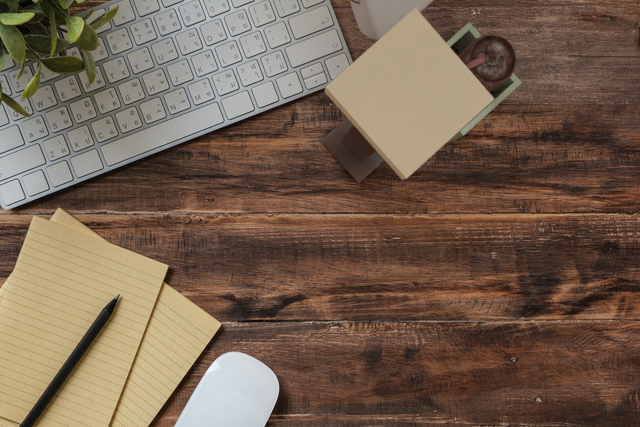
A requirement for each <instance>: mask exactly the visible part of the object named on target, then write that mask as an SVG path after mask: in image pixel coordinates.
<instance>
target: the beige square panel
mask: <svg viewBox="0 0 640 427" xmlns="http://www.w3.org/2000/svg"><path fill="white" fill-rule="evenodd" d="M446 42H447V41H445V40H444V39H443V38H442V36H441V35H440V34H439V33H438V32H437V30H436V29H435V28H434V27H433V26H432V25H431V23H430V22H429V21H428V20H427V18H425V17H424V15H423V14H422V13H421V12H419V11H418V10H417V9H416V8H414V9H413V10H412V11H411V12H410V13H409V14H407V15H406V16H405V17H404V18H403V19H402V20H401V21H399V22H398V23H397V24H396V25H395V26H394V27H393V28H392V29H390V30H389V31H388V32H387V33H386V34H385V35H384V36H382V37H381V38H380V39H379V40H378V41H377V40H376V41H375V43H374V44H372V45H371V46H370V47H368V48H367V49H366V50H365V51H364V52H363V53H362V54H361V55H360V56H358V57H357V58H356V59H355V60H354V61H353V62H352V63H351V64H350V65H348V66H347V67H346V68H345V69H344V70H342V71H341V72H340V73H339V74H338V75H337V76H336V77H334V79H332V80H331V81H330V82H328V84H327V85H326V86H325V87H324V91H323V92H324V94H326V96H327V97H328V98H329V99H330V100H331V101H332V103H334V104H335V106H336V107H337V108H338V109H339V111H341V113H342V114H343V115H344V116H345V118H346V117H347V118H348V119H349V120H350V121H351V123H352V124H353V125H354V126H355V127H356V128H357V129H358V130H359V132H360V133H361V134H362V135H363V136H364V137H365V138H366V139H367V141H368V142H369V143H370V144H371V145H372V146H373V147H374V149H375V150H376V151H377V152H378V153H379V154H380V155H381V156H382V158H383V159H384V161H385V162H386V163H387V164H388V166H389V167H390V169H392V170H393V172H395V174H396V175H397V176H398V177H399V179H401V181H402V180H406V179H408V178H410V177H411V176H412V175H413V174H414V173H415V172H416V171H418V169H419V168H421V167H422V166H423V165H424V164H425V163H426V162H427V161H428V160H429V159H431V157H432V156H434V155H435V154H436V153H437V152H438V151H440V150H441V148H442V147H444V146H445V145H446V144H447V143H449V142H448V141H449V140H450V139H451V138H452V137H453V136H454V135H456V134H457V133H458V132H459V131H460V130H461V129H462V128H463V127H464V126H466V125H467V124H468V123H469V122H470V121H471V120H472V119H473V118H474V117H475V116H477V115H478V114H479V113H480V112H481V111H482V110H483V109H484V108H485V107H486V106H488V105H489V104H490V103H491V102H492V101H493V100H494V98H493V97H492V95H493V94H491V92H488V91H487V90H486V88H485V87H484V86H483V85H482V84H481V83H480V81H479V80H478V79H477V78H476V77H475V76H474V75H473V73H472V72H471V71H470V70H469V69H468V68H467V66H466V65H465V64H464V63H463V62H462V61H461V60H460V58H459V57H458V54H457V53H455V51H454V50H453V49H452V48H450V47H449V46H448V44H447V43H446Z"/></svg>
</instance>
